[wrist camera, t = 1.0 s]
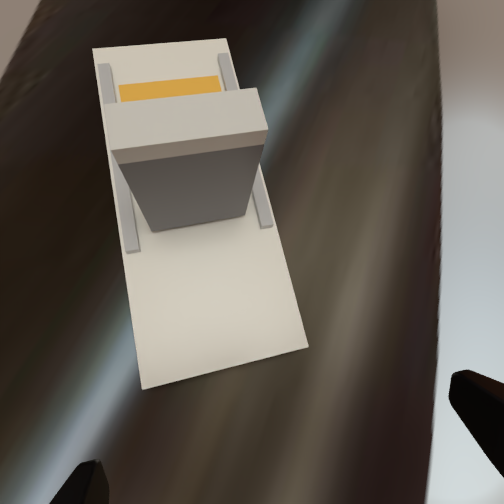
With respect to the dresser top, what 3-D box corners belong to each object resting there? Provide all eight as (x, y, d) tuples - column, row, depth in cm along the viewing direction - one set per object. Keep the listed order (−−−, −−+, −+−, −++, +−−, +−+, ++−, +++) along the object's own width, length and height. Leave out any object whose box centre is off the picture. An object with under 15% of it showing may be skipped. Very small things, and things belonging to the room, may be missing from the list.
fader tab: (244, 215, 22) (268, 129, 13) (151, 231, 21) (110, 150, 12) (238, 187, 22) (256, 87, 14) (146, 202, 21) (103, 104, 13)
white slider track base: (298, 346, 23) (311, 346, 20) (149, 384, 21) (139, 391, 18) (224, 64, 29) (226, 31, 26) (102, 75, 27) (89, 41, 24)
